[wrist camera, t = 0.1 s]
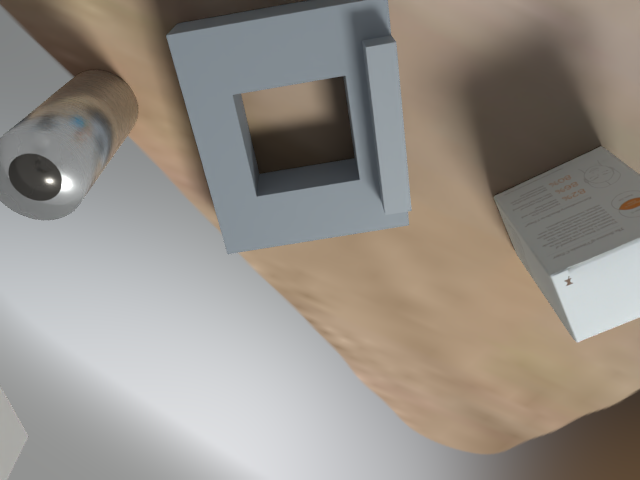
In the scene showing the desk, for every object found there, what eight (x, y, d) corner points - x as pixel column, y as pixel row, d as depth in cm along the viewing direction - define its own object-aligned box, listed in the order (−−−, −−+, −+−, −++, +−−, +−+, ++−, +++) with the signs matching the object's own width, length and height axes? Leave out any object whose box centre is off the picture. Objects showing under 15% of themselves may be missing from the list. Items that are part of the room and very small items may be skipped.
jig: (177, 23, 35) (159, 42, 30) (378, -13, 34) (392, 1, 30) (232, 228, 42) (224, 268, 37) (400, 201, 41) (413, 239, 37)
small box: (515, 253, 44) (573, 346, 35) (490, 193, 41) (546, 277, 32) (621, 207, 42) (712, 292, 33) (603, 142, 40) (696, 215, 31)
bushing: (53, 76, 36) (-33, 140, 26) (124, 64, 36) (64, 123, 26) (79, 145, 38) (9, 227, 29) (147, 133, 38) (99, 212, 28)
